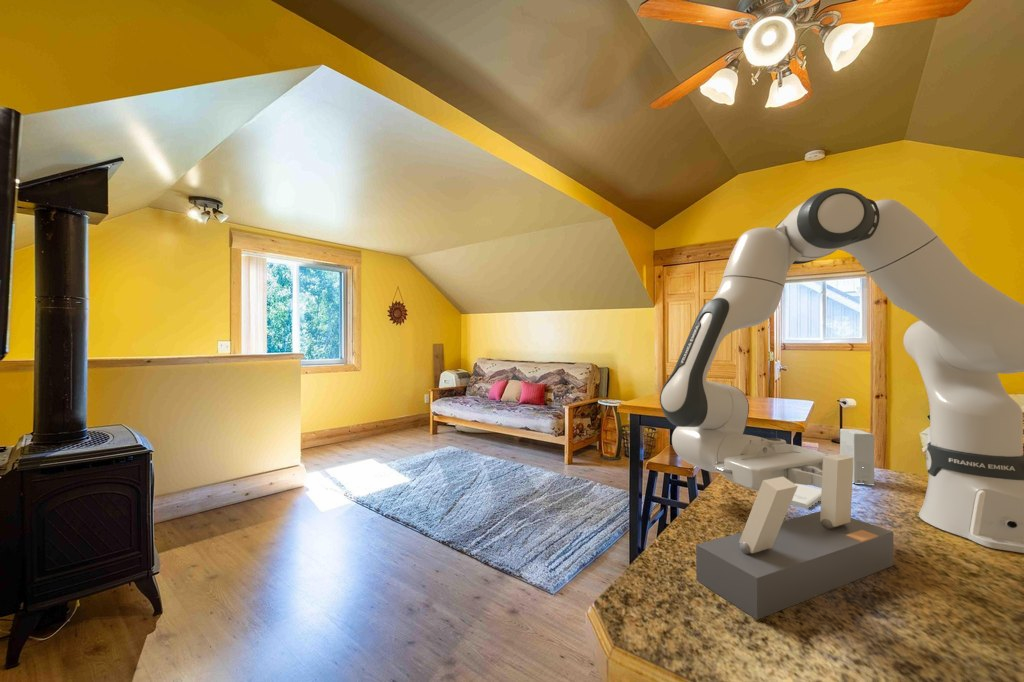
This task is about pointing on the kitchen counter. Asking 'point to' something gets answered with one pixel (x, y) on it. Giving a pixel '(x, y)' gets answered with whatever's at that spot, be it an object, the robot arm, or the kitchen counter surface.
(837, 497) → the lever
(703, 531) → the kitchen counter surface
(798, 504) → the external hard drive
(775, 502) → the lever
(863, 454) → the skincare box
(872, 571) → the switch box
